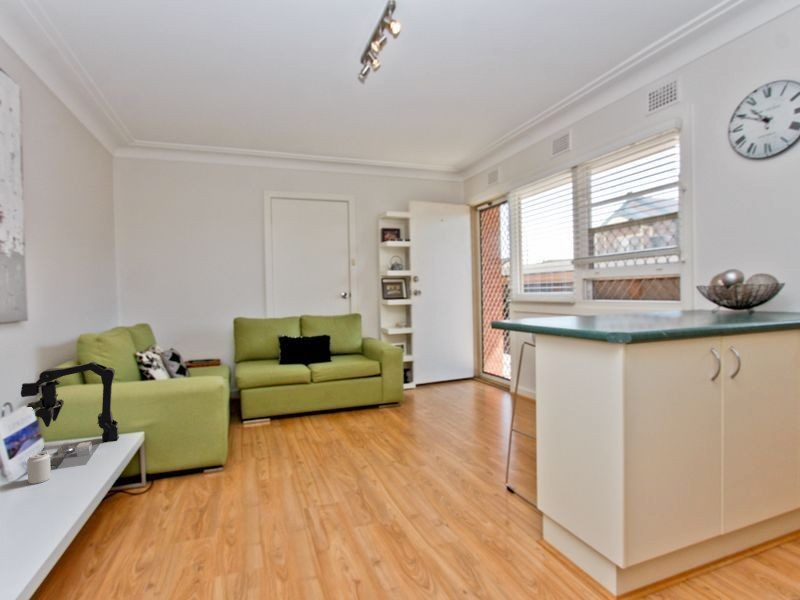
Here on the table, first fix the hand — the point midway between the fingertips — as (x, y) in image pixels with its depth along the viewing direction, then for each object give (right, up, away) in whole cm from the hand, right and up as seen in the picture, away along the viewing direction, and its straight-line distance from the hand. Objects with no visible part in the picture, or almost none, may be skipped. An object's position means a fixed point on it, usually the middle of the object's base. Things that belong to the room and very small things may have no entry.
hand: (51, 423), depth 211 cm
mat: (+17, -14, -8) cm, 23 cm away
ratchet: (+14, -14, -11) cm, 22 cm away
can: (+22, -16, -32) cm, 42 cm away
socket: (+21, -14, -5) cm, 25 cm away
